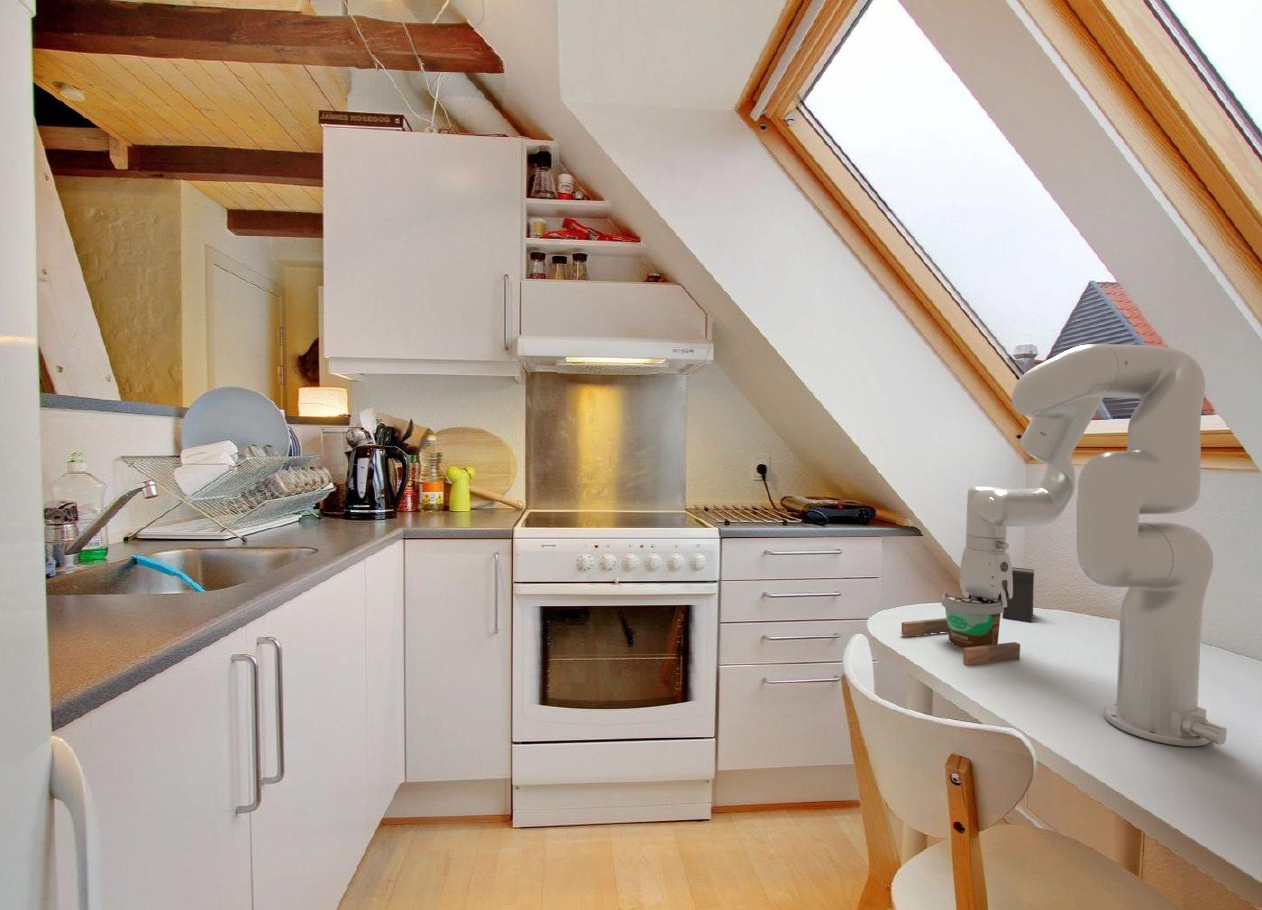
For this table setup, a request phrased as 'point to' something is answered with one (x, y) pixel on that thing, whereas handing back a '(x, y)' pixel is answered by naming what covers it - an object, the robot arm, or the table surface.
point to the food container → (972, 621)
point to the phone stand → (1021, 596)
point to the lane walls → (969, 654)
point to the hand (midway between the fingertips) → (982, 628)
